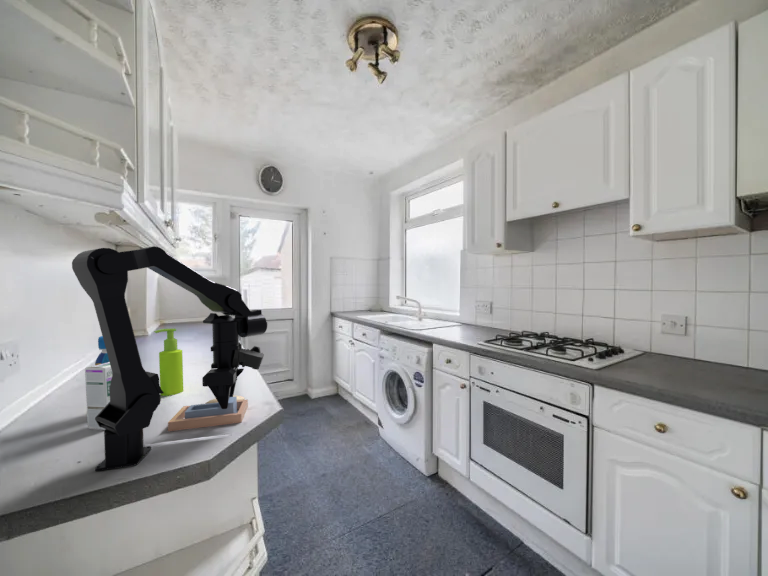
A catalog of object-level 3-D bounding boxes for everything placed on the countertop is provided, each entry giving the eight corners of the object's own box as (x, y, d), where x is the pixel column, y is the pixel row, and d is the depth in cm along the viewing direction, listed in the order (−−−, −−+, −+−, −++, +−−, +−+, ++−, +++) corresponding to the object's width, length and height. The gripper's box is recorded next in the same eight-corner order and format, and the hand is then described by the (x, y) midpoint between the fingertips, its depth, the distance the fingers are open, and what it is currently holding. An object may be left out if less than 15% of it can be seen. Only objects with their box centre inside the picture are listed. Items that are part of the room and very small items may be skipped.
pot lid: (241, 408, 85) (241, 389, 85) (199, 413, 83) (198, 394, 83) (247, 396, 95) (246, 379, 95) (209, 399, 93) (209, 382, 92)
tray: (241, 424, 75) (241, 414, 75) (168, 433, 71) (168, 422, 71) (248, 409, 85) (247, 399, 85) (183, 416, 81) (183, 406, 81)
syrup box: (106, 430, 74) (105, 367, 73) (86, 429, 75) (84, 366, 75) (131, 420, 79) (129, 361, 79) (111, 418, 80) (109, 360, 80)
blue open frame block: (185, 425, 74) (184, 407, 74) (191, 417, 79) (190, 401, 79) (233, 419, 77) (233, 402, 77) (236, 412, 82) (236, 396, 82)
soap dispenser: (154, 395, 98) (152, 329, 98) (181, 389, 102) (179, 326, 102) (157, 400, 93) (155, 330, 93) (185, 394, 98) (183, 328, 98)
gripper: (256, 344, 72) (258, 414, 72) (264, 333, 90) (266, 389, 90) (200, 348, 69) (202, 421, 69) (220, 335, 87) (222, 393, 87)
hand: (227, 404), depth 79 cm, fingers open, 6 cm apart
